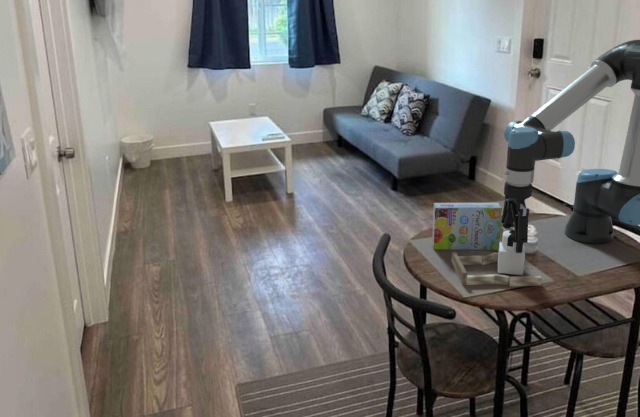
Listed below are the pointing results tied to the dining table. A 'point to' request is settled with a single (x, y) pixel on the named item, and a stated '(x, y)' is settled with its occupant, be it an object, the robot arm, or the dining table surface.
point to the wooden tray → (488, 279)
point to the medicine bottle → (509, 255)
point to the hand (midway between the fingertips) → (511, 254)
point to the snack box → (466, 226)
